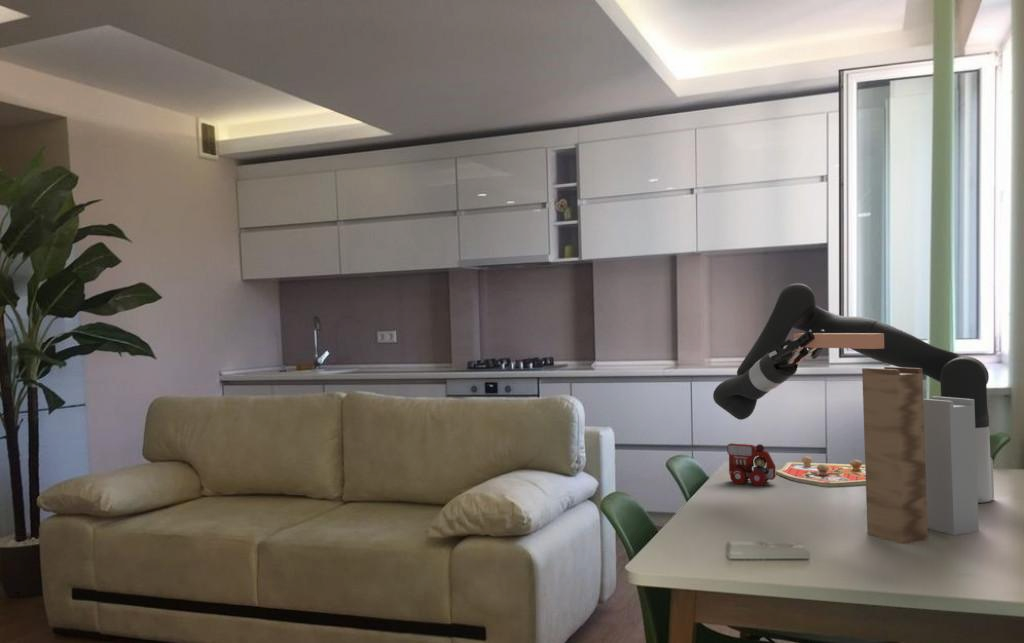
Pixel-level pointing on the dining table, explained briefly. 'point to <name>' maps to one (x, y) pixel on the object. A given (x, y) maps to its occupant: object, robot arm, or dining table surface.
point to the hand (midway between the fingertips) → (818, 333)
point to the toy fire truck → (750, 464)
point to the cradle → (951, 465)
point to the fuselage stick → (846, 340)
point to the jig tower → (895, 453)
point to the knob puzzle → (825, 473)
